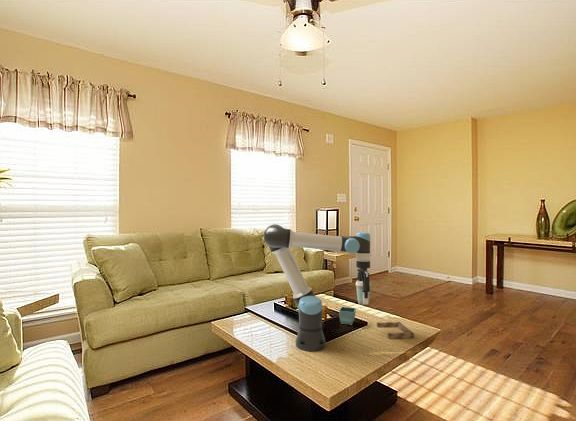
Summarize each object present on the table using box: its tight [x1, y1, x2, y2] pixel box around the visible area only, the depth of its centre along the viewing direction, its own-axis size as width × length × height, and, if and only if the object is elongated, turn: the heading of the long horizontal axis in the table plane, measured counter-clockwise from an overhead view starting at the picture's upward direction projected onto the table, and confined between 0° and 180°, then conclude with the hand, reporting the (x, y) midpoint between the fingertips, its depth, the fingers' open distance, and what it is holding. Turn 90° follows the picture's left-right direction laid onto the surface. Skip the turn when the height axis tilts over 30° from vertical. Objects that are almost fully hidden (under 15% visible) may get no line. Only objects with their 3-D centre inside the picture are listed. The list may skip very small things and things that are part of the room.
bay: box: [376, 321, 415, 340], centre depth 178 cm, size 14×18×2 cm
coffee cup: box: [355, 280, 372, 305], centre depth 177 cm, size 9×8×12 cm
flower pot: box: [338, 306, 357, 326], centre depth 190 cm, size 9×9×9 cm
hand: (363, 301), depth 177 cm, fingers closed on coffee cup, 7 cm apart
